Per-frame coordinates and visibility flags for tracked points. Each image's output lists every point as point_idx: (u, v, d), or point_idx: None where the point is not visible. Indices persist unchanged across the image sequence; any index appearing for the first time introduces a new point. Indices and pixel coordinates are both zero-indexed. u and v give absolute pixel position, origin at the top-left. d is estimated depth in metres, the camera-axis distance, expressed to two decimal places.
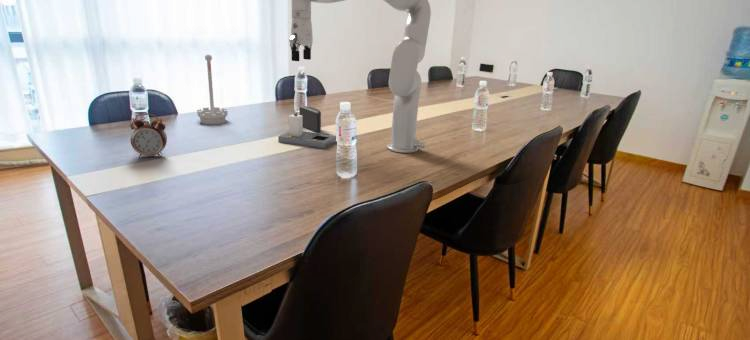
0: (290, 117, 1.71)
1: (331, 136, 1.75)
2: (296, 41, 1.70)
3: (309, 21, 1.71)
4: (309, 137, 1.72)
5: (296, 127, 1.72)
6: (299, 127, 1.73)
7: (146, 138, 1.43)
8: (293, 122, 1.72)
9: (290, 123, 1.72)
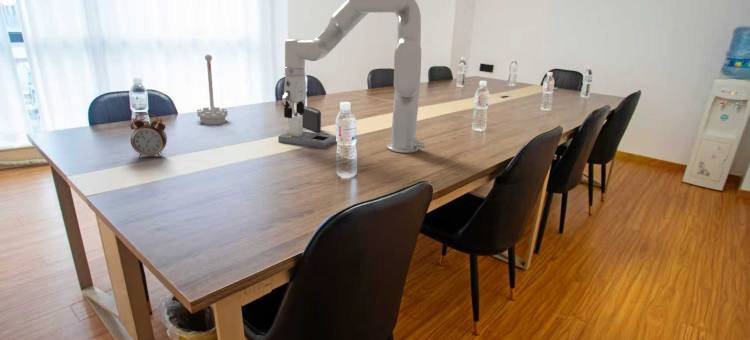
0: None
1: (331, 136, 1.75)
2: (289, 98, 1.67)
3: (303, 77, 1.68)
4: (309, 137, 1.72)
5: (296, 127, 1.72)
6: (299, 127, 1.73)
7: (146, 138, 1.43)
8: (293, 122, 1.72)
9: (290, 123, 1.72)
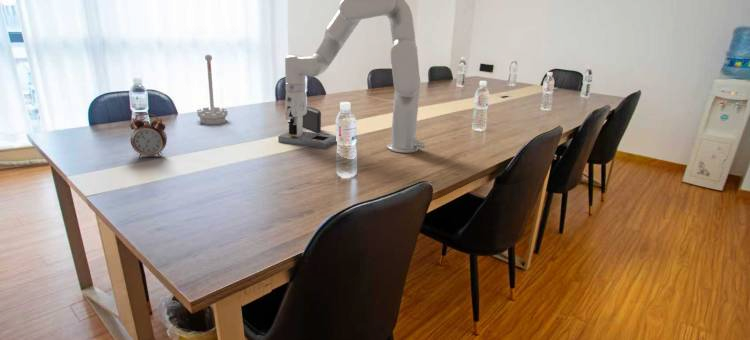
0: None
1: (331, 136, 1.75)
2: (291, 114, 1.70)
3: (303, 92, 1.70)
4: (309, 137, 1.72)
5: None
6: (299, 127, 1.73)
7: (146, 138, 1.43)
8: None
9: None
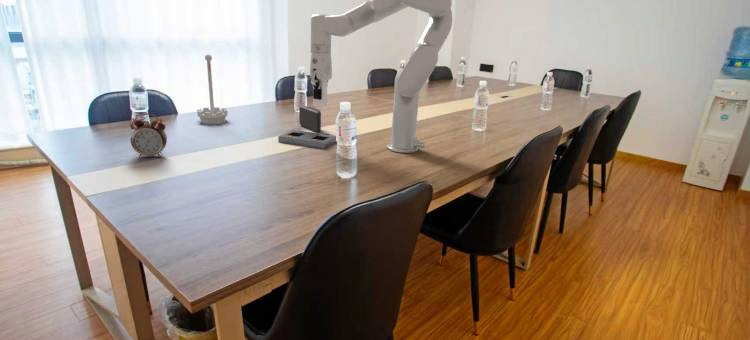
0: None
1: (331, 136, 1.75)
2: None
3: (329, 55, 1.62)
4: (309, 137, 1.72)
5: None
6: (324, 91, 1.65)
7: (146, 138, 1.43)
8: None
9: None
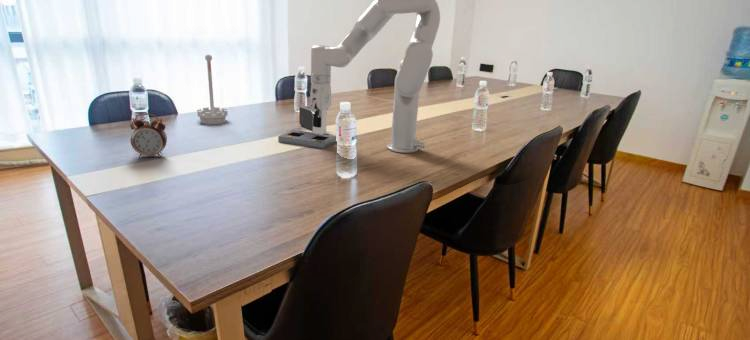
0: None
1: (331, 136, 1.75)
2: (316, 106, 1.65)
3: (328, 84, 1.66)
4: (309, 137, 1.72)
5: None
6: (323, 119, 1.68)
7: (146, 138, 1.43)
8: None
9: None
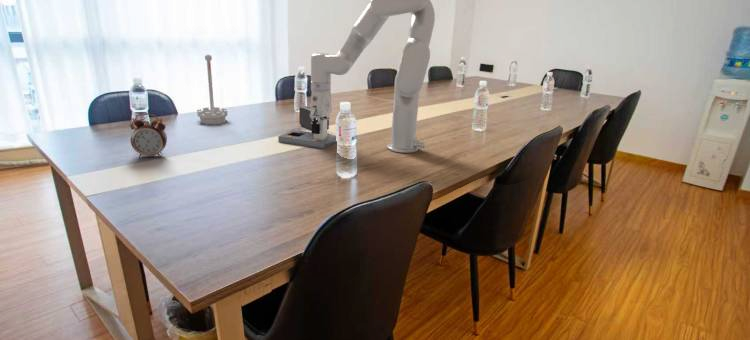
0: None
1: (331, 136, 1.75)
2: (316, 113, 1.66)
3: (329, 91, 1.67)
4: (309, 137, 1.72)
5: (321, 130, 1.68)
6: (324, 130, 1.70)
7: (146, 138, 1.43)
8: None
9: None
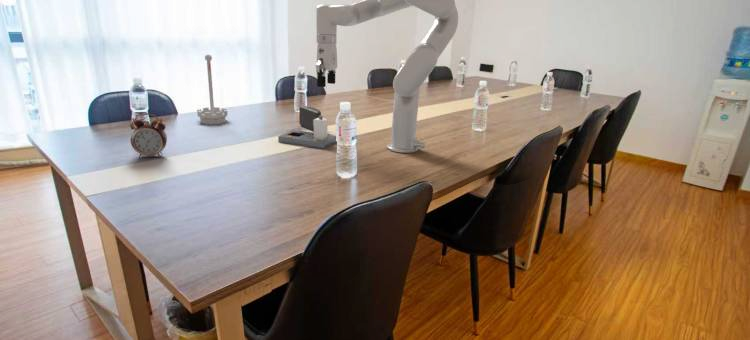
0: (315, 120, 1.68)
1: (331, 136, 1.75)
2: (322, 66, 1.63)
3: (334, 45, 1.65)
4: (309, 137, 1.72)
5: (321, 131, 1.68)
6: (324, 130, 1.70)
7: (146, 138, 1.43)
8: (318, 126, 1.68)
9: (315, 126, 1.69)
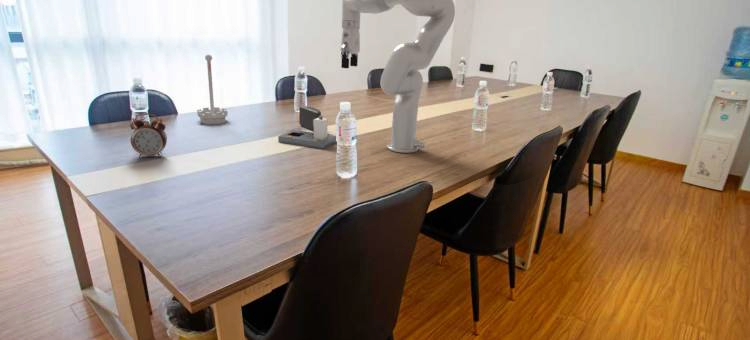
0: (315, 120, 1.68)
1: (331, 136, 1.75)
2: (346, 49, 1.80)
3: (358, 30, 1.81)
4: (309, 137, 1.72)
5: (321, 131, 1.68)
6: (324, 130, 1.70)
7: (146, 138, 1.43)
8: (318, 126, 1.68)
9: (315, 126, 1.69)
